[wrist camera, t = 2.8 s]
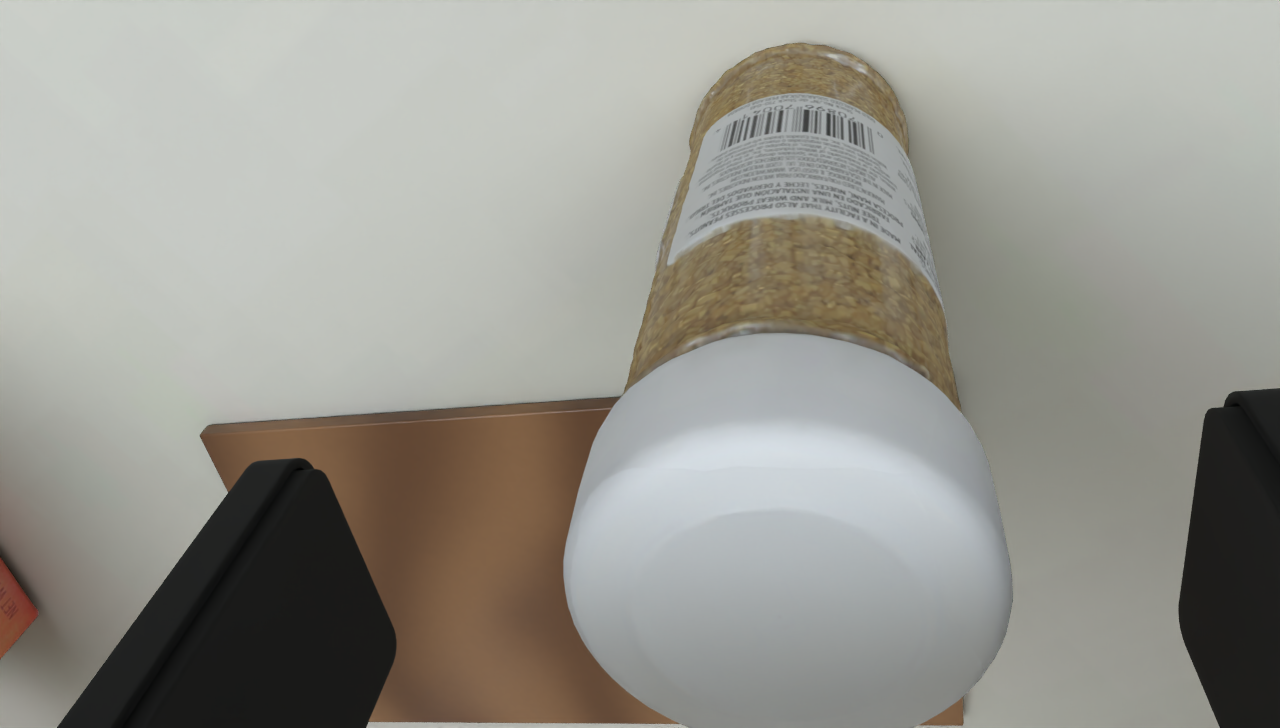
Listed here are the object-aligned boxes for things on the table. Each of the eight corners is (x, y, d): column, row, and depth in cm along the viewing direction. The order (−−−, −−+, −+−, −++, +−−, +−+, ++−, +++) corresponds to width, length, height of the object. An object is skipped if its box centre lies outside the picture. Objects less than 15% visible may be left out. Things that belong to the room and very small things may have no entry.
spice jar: (667, 208, 22) (514, 696, 11) (729, 5, 20) (613, 374, 9) (862, 268, 22) (905, 814, 11) (949, 74, 20) (1117, 530, 9)
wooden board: (953, 372, 23) (956, 384, 23) (961, 712, 30) (964, 726, 29) (207, 424, 28) (198, 435, 27) (348, 710, 34) (342, 722, 34)
